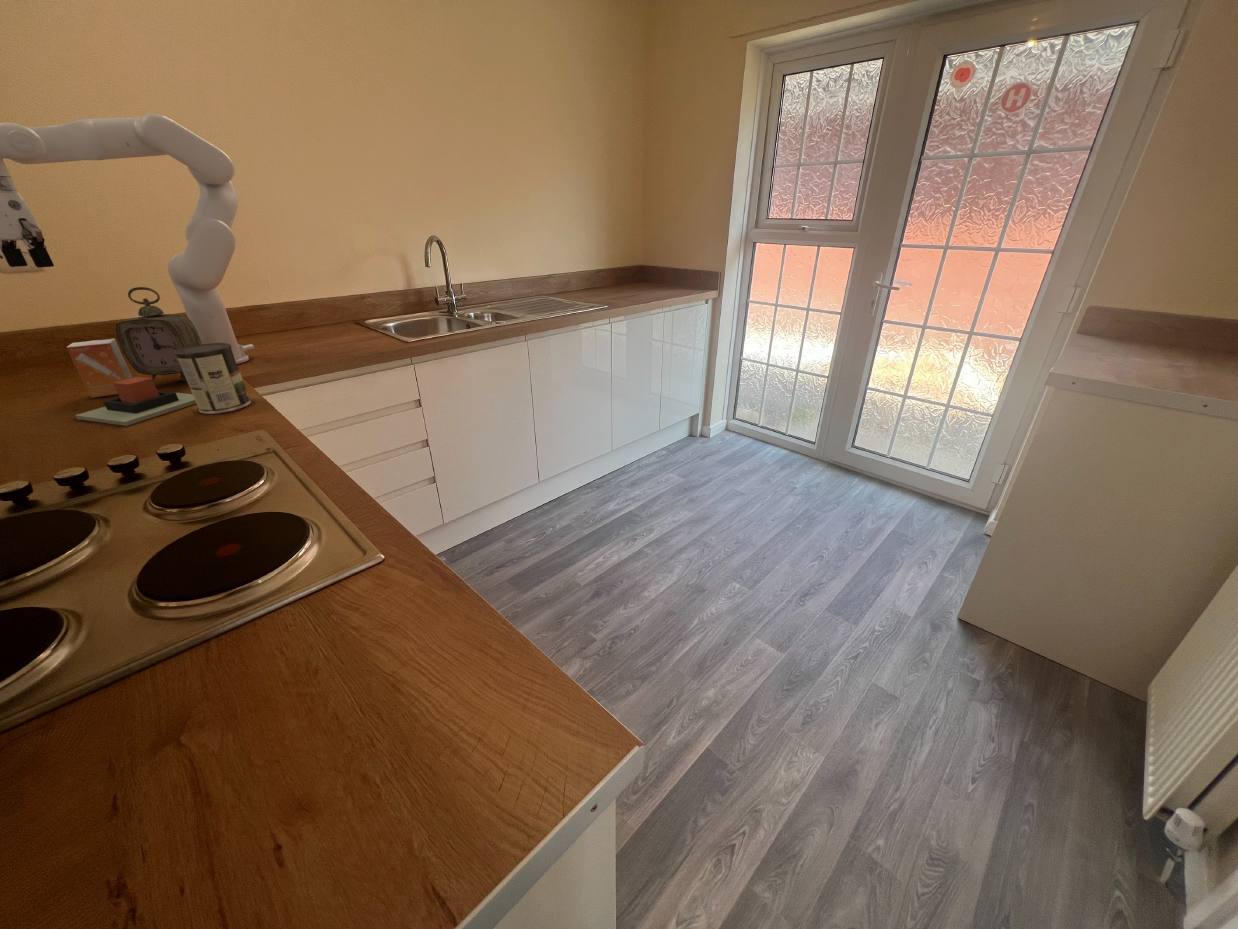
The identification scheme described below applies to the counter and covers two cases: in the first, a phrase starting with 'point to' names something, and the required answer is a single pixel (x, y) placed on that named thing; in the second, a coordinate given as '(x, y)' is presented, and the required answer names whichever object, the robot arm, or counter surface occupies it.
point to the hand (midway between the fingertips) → (32, 266)
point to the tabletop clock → (155, 338)
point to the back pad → (137, 409)
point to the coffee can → (213, 377)
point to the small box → (99, 365)
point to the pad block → (136, 389)
